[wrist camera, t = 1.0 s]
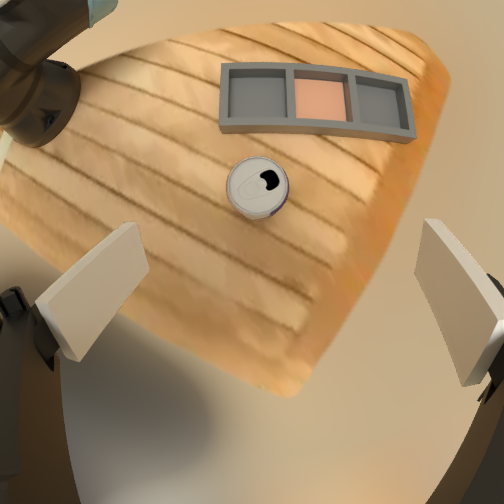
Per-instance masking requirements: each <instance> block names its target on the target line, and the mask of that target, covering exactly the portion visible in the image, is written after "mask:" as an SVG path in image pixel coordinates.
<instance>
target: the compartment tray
mask: <svg viewBox="0 0 504 504" xmlns="http://www.w3.org/2000/svg"><path fill="white" fill-rule="evenodd" d="M219 127H220V130H221V132H222V134H226V133H292V134H314V135H330V136H343V137H354V138H364V139H373V140H381V141H389V142H396V143H403V144H407V143H409V142H411V141H413V140H415V139H416V138H417V137H416V129H415V122H414V115H413V109H412V103H411V97H410V91H409V86H408V81H407V79H404V78H399V77H395V76H390V75H385V74H380V73H375V72H369V71H363V70H356V69H349V68H342V67H334V66H324V65H313V64H299V63H275V62H244V63H221V81H220V106H219Z"/></svg>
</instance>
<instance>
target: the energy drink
mask: <svg viewBox="0 0 504 504" xmlns="http://www.w3.org/2000/svg"><path fill="white" fill-rule="evenodd" d="M226 192H227V197H228V199H229V201H230V203H231V205H232V206H233V207H234V208H235V209H236V210H237V211H238V212H239V213H241V214H242V215H243V216H245V217H246V218H248V219H250V220H254V221H262V220H266V219H268V218H270V217H271V216H273V215H274V214H275V213H276V212H277V211H278V210H279V209H280V208H282V206H283V205H284V203H285V202H286V200H287V197H288V193H289V181H288V177H287V175H286V173H285V171H284V170H283V168H282V167H281V166H280V165H279V164H278V163H277V162H275V161H274V160H272V159H269V158H266V157H262V156H254V157H249V158H246V159H243V160H242V161H240V162H238V163H237V164H236V165H235V166H234V167H233V168H232V170H231V171H230V173H229V175H228V178H227V182H226Z"/></svg>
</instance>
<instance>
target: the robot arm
mask: <svg viewBox="0 0 504 504" xmlns="http://www.w3.org/2000/svg"><path fill="white" fill-rule="evenodd" d="M117 4H118V0H0V126H1V127H2V128H3V129H4V130H5V131H6V132H7V133H8V134H9V135H10V136H11V137H12V138H13V139H14V140H15V141H16V142H18V143H19V144H21V145H24V146H27V147H39V146H42V145H44V144H46V143H48V142H49V141H51V140H52V139H53V138H54V137H55V136H56V135H57V134H58V133H59V132H60V131H61V130H62V129H63V127H64V126H65V125H66V123H67V122H68V120H69V119H70V117H71V115H72V113H73V111H74V109H75V107H76V104H77V101H78V98H79V94H80V78H79V75H78V73H77V72H76V71H75V70H74V69H73V68H72V67H71V66H69V65H68V64H66V63H64V62H60V61H54V60H49V59H47V58H48V57H49V56H50V55H52V54H53V53H54V52H56V51H57V50H58V49H59V48H61V47H62V46H63V45H65V44H66V43H67V42H69V41H70V40H71V39H73V38H74V37H76V36H77V35H78V34H80V33H81V32H83V31H84V30H86V29H87V28H91V27H93V25H94V24H95V23H96V22H98V21H99V20H101V19H102V18H104V17H105V16H107V15H108V14H110V13H111V12H113V11H114V9H115V8H116V6H117ZM149 271H150V269H149V266H148V262H147V259H146V255H145V251H144V248H143V244H142V240H141V236H140V232H139V228H138V224H137V222H124V223H123V224H122V225H121V226H119V227H118V228H117V229H115V230H114V231H113V232H112V233H111V234H109V235H108V236H107V237H106V238H104V239H103V240H102V241H101V242H100V243H98V244H97V245H96V246H95V247H94V248H92V249H91V250H90V251H89V252H88V253H87V254H85V255H84V256H83V257H82V258H81V259H80V260H79V261H77V262H76V263H75V264H74V265H73V266H72V267H71V268H69V269H68V270H67V271H66V272H65V273H64V274H63V275H62V276H61V277H60V278H59V279H58V280H56V281H55V282H54V283H53V284H52V285H51V286H50V287H49V288H48V289H47V290H46V291H45V292H44V293H43V294H42V295H41V296H40V297H39V298H38V299H37V300H36V301H35V304H34V305H33V306H32V307H31V308H30V306H29V304H28V302H27V300H26V298H25V296H24V294H23V292H22V290H21V288H20V287H12V288H9V289H7V290H6V291H4V292H3V293H2V294H0V312H1V313H2V315H3V317H4V318H3V319H1V317H0V504H81V502H80V499H79V495H78V492H77V488H76V484H75V480H74V475H73V471H72V466H71V461H70V456H69V451H68V445H67V439H66V432H65V425H64V417H63V408H62V396H61V382H60V359H59V356H58V355H57V353H56V351H57V350H58V348H59V347H60V348H61V349H62V351H63V353H64V355H65V356H66V357H67V358H68V359H71V360H74V361H77V362H80V361H81V359H82V358H83V357H84V355H85V354H86V353H87V351H88V350H89V348H90V347H91V346H92V344H93V343H94V342H95V340H96V339H97V338H98V336H99V335H100V333H101V332H102V331H103V329H104V328H105V327H106V325H107V324H108V323H109V321H110V320H111V319H112V317H113V316H114V315H115V314H116V312H117V311H118V310H119V309H120V307H121V306H122V305H123V303H124V302H125V301H126V300H127V298H128V297H129V296H130V294H131V293H132V292H133V291H134V289H135V288H136V287H137V286H138V284H139V283H140V282H141V281H142V280H143V278H144V277H145V276H146V275H147V273H148V272H149ZM414 274H415V276H416V278H417V280H418V282H419V284H420V286H421V288H422V290H423V292H424V294H425V296H426V298H427V300H428V303H429V304H430V307H431V309H432V311H433V314H434V316H435V318H436V320H437V323H438V325H439V327H440V330H441V332H442V334H443V337H444V340H445V342H446V345H447V347H448V350H449V352H450V355H451V358H452V360H453V363H454V366H455V368H456V371H457V374H458V377H459V380H460V383H461V386H462V387H466V386H470V385H475V384H480V383H481V381H482V380H483V378H484V377H485V375H486V373H487V372H489V374H490V377H491V379H492V380H491V381H490V383H489V384H488V386H487V387H486V388H485V390H484V391H483V393H482V394H481V395H480V397H479V399H478V400H477V401H480V400H481V399H482V401H481V403H480V406H479V408H478V411H477V413H476V415H475V417H474V420H473V422H472V424H471V427H470V428H469V431H468V433H467V435H466V437H465V439H464V441H463V443H462V445H461V447H460V449H459V450H458V452H457V454H456V456H455V458H454V460H453V462H452V463H451V465H450V467H449V468H448V470H447V472H446V473H445V475H444V477H443V478H442V480H441V481H440V483H439V485H438V486H437V488H436V489H435V491H434V492H433V494H432V495H431V496H430V498H429V499H428V501H427V502H426V504H504V288H503V287H502V285H501V284H500V283H499V282H498V281H497V280H496V279H495V278H493V277H492V276H491V275H490V274H486V273H485V272H484V271H483V270H482V268H481V267H480V266H479V264H478V263H477V262H476V261H475V260H474V258H473V257H472V256H471V255H470V254H469V252H468V251H467V250H466V249H465V248H464V246H463V245H462V244H461V243H460V242H459V241H458V240H457V239H456V237H455V236H454V235H453V234H452V233H451V232H450V231H449V230H448V228H447V227H446V226H445V225H444V224H443V223H442V222H441V221H440V220H439V219H425V218H424V222H423V229H422V235H421V241H420V247H419V252H418V257H417V263H416V267H415V272H414Z"/></svg>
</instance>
